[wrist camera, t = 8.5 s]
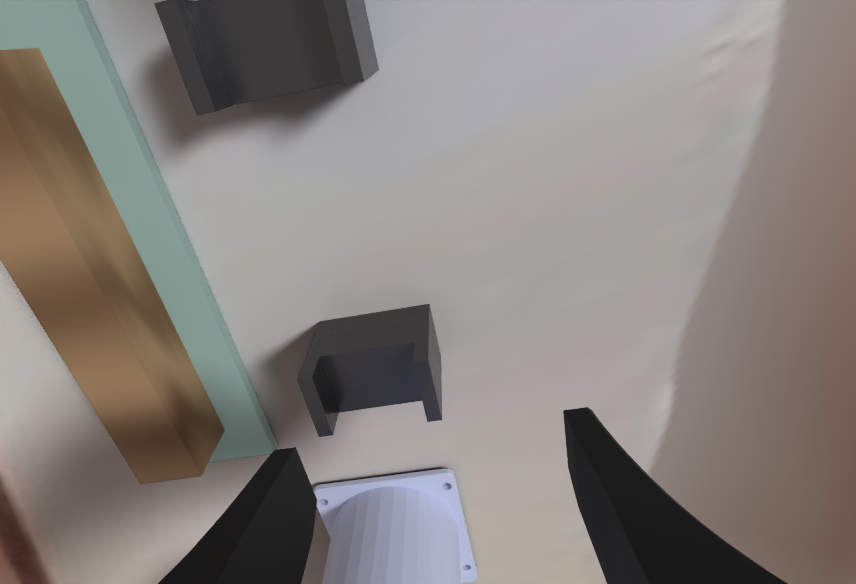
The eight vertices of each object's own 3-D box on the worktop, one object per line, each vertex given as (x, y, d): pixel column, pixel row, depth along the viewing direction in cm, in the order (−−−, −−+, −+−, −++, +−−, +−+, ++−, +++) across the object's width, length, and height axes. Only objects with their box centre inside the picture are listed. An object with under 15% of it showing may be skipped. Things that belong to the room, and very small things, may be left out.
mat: (277, 445, 27) (274, 453, 27) (156, 461, 28) (151, 470, 28) (72, -30, 17) (61, -32, 17) (-108, 14, 18) (-124, 14, 18)
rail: (224, 430, 26) (201, 476, 23) (170, 438, 26) (140, 484, 24) (38, 47, 18) (-30, 51, 15) (-37, 65, 18) (-118, 71, 16)
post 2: (441, 357, 25) (442, 419, 21) (337, 373, 25) (318, 436, 21) (429, 304, 23) (428, 359, 19) (319, 321, 24) (297, 379, 20)
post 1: (379, 69, 19) (364, 80, 15) (245, 97, 19) (196, 115, 15) (358, -24, 17) (336, -40, 14) (215, 8, 18) (154, 3, 14)
